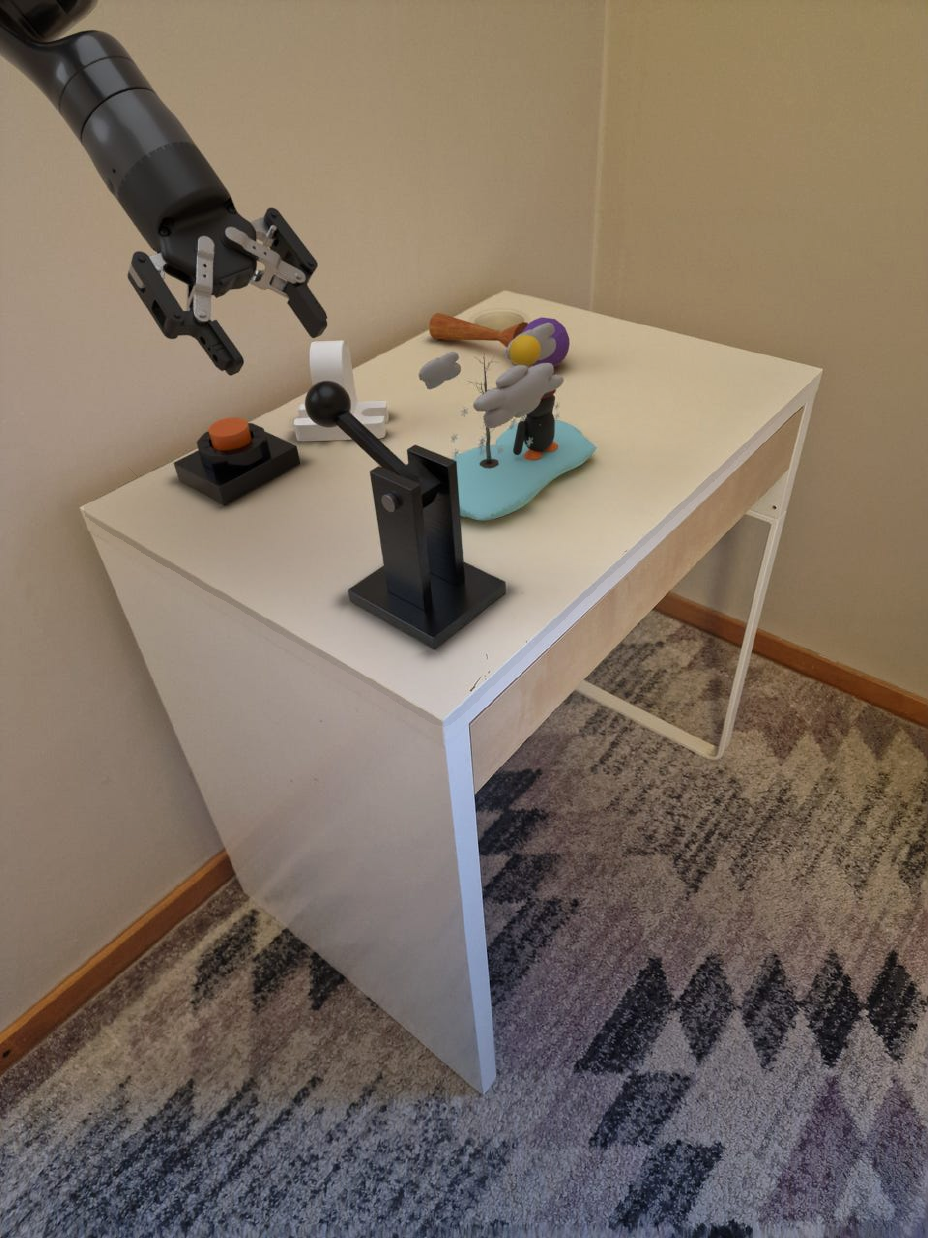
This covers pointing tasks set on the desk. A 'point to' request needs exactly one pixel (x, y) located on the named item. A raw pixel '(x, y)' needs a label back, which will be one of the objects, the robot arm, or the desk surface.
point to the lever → (364, 435)
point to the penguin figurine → (514, 430)
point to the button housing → (236, 465)
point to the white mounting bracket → (336, 366)
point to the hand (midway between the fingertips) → (281, 349)
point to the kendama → (498, 334)
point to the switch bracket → (423, 557)
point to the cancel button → (230, 433)
